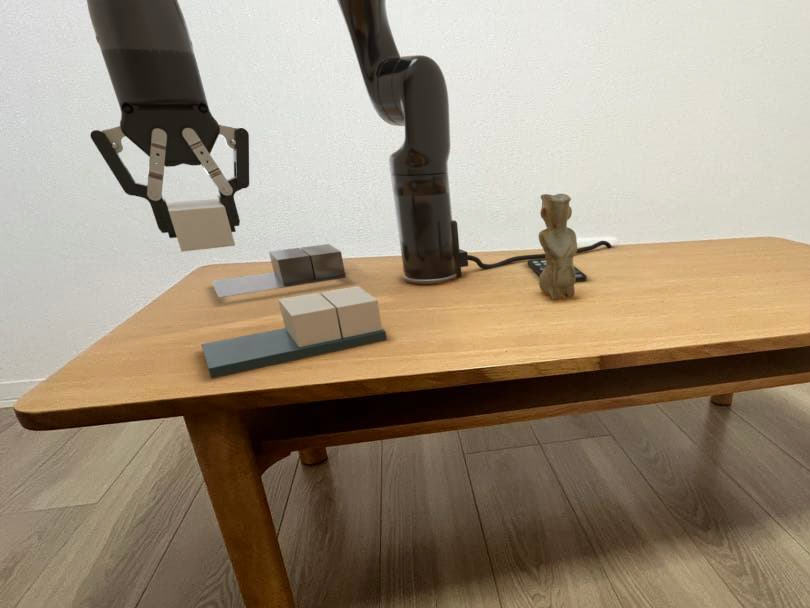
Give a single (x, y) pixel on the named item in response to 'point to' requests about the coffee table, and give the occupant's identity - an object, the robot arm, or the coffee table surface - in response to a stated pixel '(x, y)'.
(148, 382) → the coffee table surface
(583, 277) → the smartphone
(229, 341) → the teal base board
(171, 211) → the beige block
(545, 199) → the sculpture
